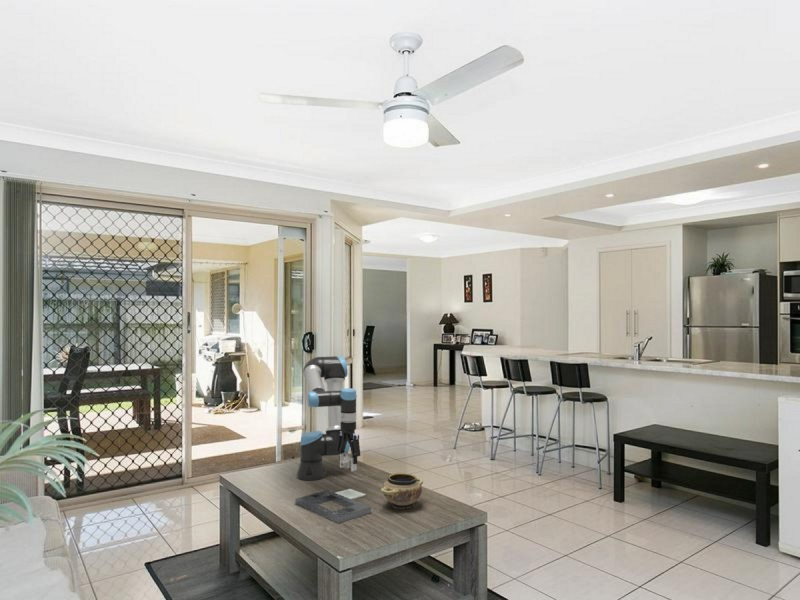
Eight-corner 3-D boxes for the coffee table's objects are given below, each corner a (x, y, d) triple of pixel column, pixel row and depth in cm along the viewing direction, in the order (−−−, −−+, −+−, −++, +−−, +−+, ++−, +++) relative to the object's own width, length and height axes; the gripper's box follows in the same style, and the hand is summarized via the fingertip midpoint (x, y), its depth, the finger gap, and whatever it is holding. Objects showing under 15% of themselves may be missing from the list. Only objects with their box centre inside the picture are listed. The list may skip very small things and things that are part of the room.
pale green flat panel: (330, 495, 260) (330, 494, 260) (350, 489, 268) (350, 488, 268) (345, 501, 251) (345, 500, 251) (365, 495, 259) (365, 494, 259)
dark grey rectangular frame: (295, 504, 247) (295, 498, 247) (327, 495, 260) (327, 489, 260) (338, 523, 224) (338, 517, 224) (371, 512, 237) (371, 506, 237)
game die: (352, 476, 260) (364, 461, 259) (339, 473, 254) (352, 457, 253) (344, 464, 267) (356, 448, 265) (332, 461, 261) (344, 445, 260)
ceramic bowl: (390, 522, 232) (396, 490, 230) (366, 501, 245) (371, 471, 243) (431, 509, 248) (437, 479, 246) (406, 490, 262) (411, 462, 259)
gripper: (329, 419, 266) (328, 466, 265) (356, 425, 250) (355, 474, 250) (341, 417, 271) (341, 463, 270) (368, 423, 256) (368, 471, 255)
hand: (348, 468), depth 260 cm, fingers closed on game die, 8 cm apart
